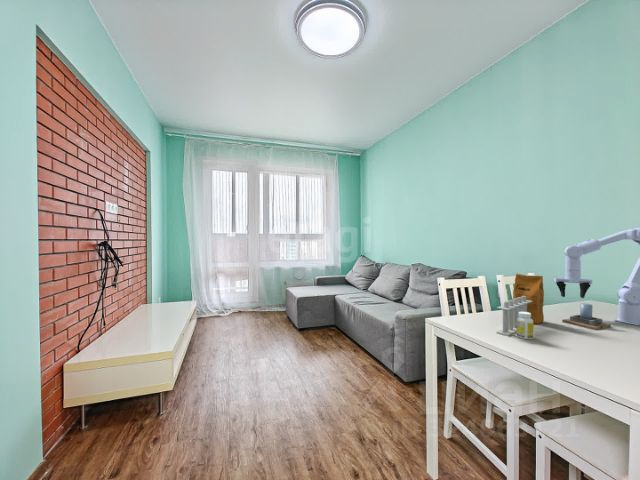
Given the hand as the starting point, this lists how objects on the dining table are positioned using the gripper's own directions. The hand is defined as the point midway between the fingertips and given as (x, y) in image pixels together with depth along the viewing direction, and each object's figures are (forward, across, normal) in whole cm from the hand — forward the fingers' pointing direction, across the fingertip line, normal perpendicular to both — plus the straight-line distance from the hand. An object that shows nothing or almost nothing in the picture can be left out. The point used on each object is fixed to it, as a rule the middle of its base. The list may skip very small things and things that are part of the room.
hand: (572, 297), depth 140 cm
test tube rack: (+10, +32, +32) cm, 47 cm away
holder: (+9, +1, +14) cm, 17 cm away
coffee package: (+10, +24, +16) cm, 30 cm away
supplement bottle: (+10, +32, +42) cm, 54 cm away
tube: (+8, +1, +14) cm, 16 cm away
